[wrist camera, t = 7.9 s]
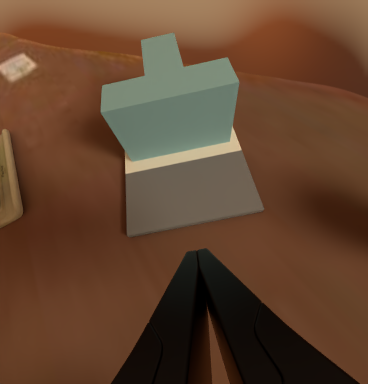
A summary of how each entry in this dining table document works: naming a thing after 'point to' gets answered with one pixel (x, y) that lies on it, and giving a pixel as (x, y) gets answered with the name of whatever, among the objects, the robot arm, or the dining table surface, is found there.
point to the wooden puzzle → (8, 183)
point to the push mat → (189, 188)
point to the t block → (171, 103)
